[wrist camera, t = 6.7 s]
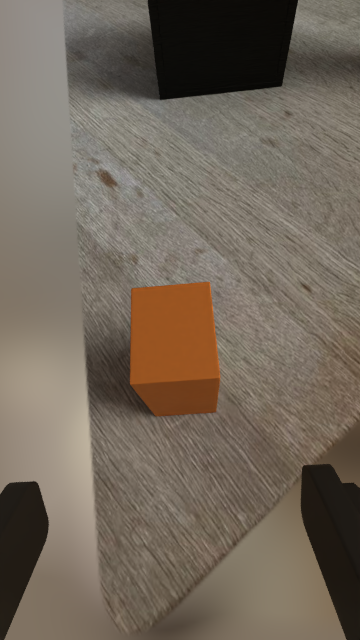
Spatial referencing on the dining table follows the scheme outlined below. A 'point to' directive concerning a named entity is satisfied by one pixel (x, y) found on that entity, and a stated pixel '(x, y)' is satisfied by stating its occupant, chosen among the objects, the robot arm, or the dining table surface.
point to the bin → (220, 44)
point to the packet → (174, 349)
